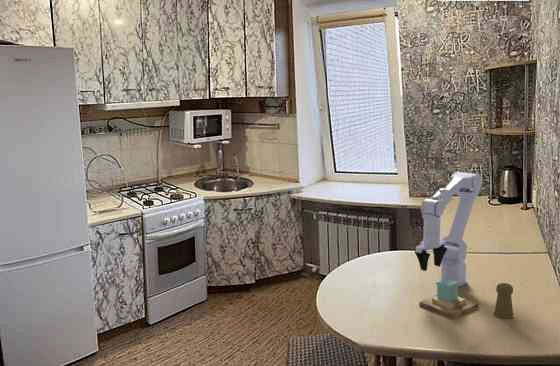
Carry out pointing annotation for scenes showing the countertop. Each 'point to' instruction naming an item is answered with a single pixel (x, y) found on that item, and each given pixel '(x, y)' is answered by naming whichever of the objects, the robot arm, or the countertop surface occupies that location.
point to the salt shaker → (504, 301)
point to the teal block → (447, 290)
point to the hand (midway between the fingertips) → (430, 268)
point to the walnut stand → (449, 306)
